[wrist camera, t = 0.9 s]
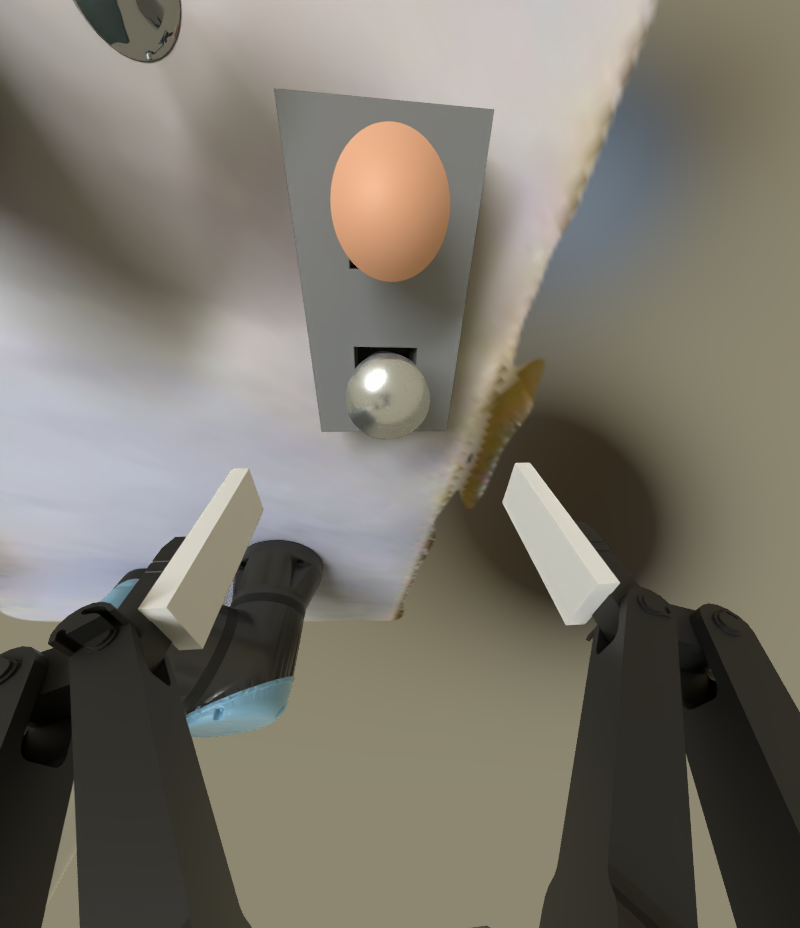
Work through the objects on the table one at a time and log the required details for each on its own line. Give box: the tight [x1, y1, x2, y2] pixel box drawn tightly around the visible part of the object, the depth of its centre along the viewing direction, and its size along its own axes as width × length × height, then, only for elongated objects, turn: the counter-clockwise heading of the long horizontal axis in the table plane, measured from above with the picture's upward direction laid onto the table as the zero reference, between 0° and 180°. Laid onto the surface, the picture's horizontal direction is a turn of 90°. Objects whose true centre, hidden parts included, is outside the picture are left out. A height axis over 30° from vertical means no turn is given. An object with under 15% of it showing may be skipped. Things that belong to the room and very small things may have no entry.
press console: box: [274, 88, 494, 432], centre depth 27 cm, size 24×14×6 cm, turn 178°
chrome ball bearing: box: [346, 350, 430, 439], centre depth 27 cm, size 7×7×7 cm
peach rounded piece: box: [330, 121, 450, 282], centre depth 20 cm, size 7×7×7 cm
